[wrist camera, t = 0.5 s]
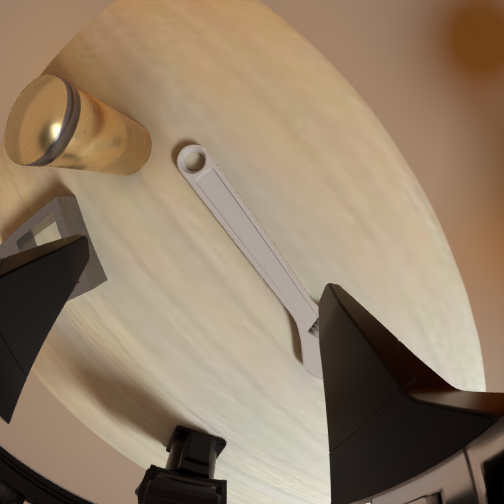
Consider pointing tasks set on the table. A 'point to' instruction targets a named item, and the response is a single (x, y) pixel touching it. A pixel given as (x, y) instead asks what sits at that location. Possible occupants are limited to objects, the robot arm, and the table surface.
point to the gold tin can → (73, 131)
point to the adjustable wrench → (257, 251)
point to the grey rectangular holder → (68, 225)
